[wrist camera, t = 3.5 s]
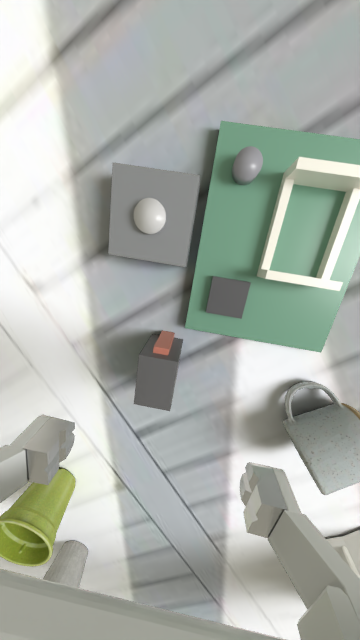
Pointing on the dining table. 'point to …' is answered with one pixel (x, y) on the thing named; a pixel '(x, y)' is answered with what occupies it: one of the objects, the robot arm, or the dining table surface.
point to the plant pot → (35, 521)
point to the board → (277, 236)
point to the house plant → (68, 564)
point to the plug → (158, 371)
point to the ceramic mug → (326, 440)
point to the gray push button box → (152, 214)
